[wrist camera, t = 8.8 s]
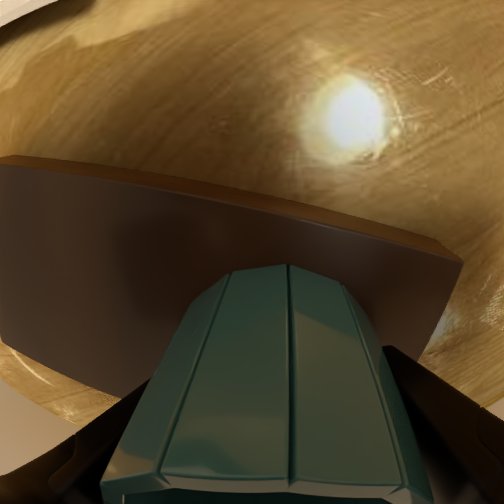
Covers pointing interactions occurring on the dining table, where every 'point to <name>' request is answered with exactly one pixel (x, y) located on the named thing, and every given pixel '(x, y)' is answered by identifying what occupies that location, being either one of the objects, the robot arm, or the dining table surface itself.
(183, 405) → the cup
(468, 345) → the dining table surface
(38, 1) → the plate
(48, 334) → the block
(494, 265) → the dining table surface
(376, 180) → the dining table surface
